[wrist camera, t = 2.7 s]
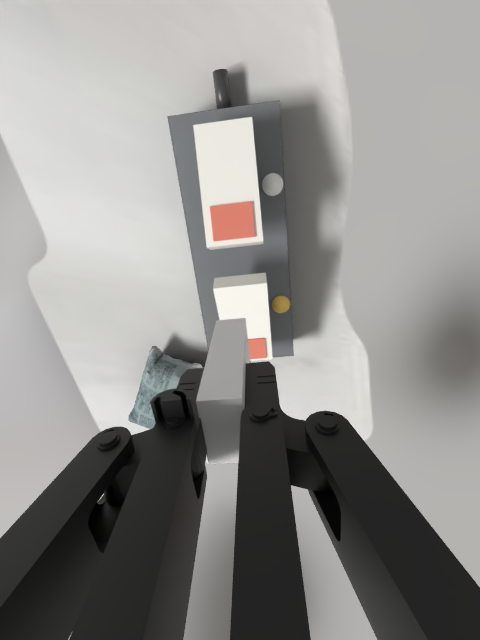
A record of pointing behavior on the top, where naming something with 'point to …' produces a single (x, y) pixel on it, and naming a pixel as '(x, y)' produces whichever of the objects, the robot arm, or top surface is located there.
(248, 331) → the white switch paddle
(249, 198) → the rocker white
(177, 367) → the packaged food
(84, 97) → the top surface
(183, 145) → the rocker switch box
